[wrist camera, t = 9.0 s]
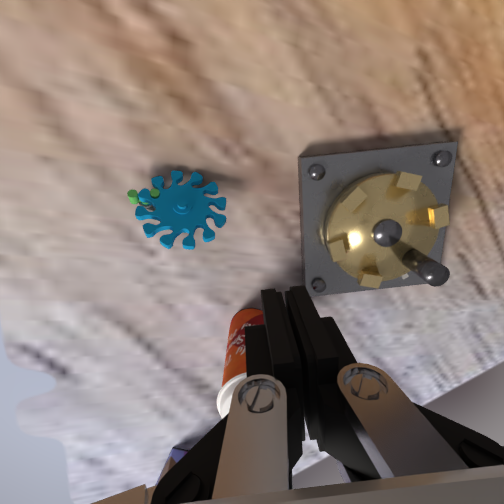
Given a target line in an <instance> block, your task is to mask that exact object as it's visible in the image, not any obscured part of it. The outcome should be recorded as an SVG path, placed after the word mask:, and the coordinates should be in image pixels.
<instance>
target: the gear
mask: <svg viewBox="0 0 504 504" xmlns="http://www.w3.org/2000/svg"><path fill="white" fill-rule="evenodd" d="M171 177H172V184H171V186H170V188H169V189H163V186H164V180H163V177H162V176H157V177H154V178H152V179H151V180H152V185H153V187H154V188H156V189H152V190H151V191H149V190H148V189H146V188H144V189H142V190H141V191H140V192H139V193H137V191H136V190H130V191H128V193H127V194H128V197H129V200H130V202H131V203H132V204H137V203H139V205H140V206H137V208H136V212H135V216H136V218H137V219H138V220H144V219H155V220H158V221H160V224H158V225H153V224H150V223H146V224H144V225H143V229H144V232H145V234H146V236H147V238H150V237H153V236H154V235H155V234H156V233H158V232H159V231H162V230H168V229H170V230H172V231H173V232H172V233H171V234H168V235H163V236H162V237H161V238H160V243H161V244H162V245H163V246H164V247H166V248H168V249H170V248H171V247H172V246H173V242H174V240H175V238H176V237H177V236H178V235H180V234H181V233H183V232H184V233H186V232H187V233H188V234H189V235H188V236H187V237H186V238H184V239H183V242H182V243H183V248H185V249H194V248H195V240H194V237H193V235H194V232H195V230H196V229H197V228H203V229H204V232H203V240H204V242H209V241H212V240H214V239H215V232H214V231H213V230H211V229H210V228H209V227H208V225H207V223H206V219H207V218H212V219H214V222H215V225H216V226H217V227H218V228H221V227H222V226H223V225H224V224H225V222H226V216H224V215H222V214H217V213H215V212H213V211H212V210H211V209H210V208H209V206H210V205H214V206H215V207H216V208H217V209H219V210H222V211H223V210H225V207H226V198H224V197H220V198H209V197H206V196H204V194H206V193H208V194H211V195H216V194H217V193H218V186H217V185H216V183H215V182H210V183H209V184H208V185H206V186H205V187H202V188H193V187H192V186H194V185H200V184H201V183H202V181H203V177H202V175H200V174H199V173H197V172H194V173H192V175H191V179H190V180H189V181H188V182H187V183H186V184H184V185H178V183H180V182H181V181H182V180H183V173H182V172H181V171H174V170H173V171H172V172H171Z"/></svg>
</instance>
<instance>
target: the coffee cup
mask: <svg viewBox="0 0 504 504" xmlns="http://www.w3.org/2000/svg"><path fill="white" fill-rule="evenodd" d="M261 324H264V318H263V311H261V310H258V309H254V308H248V309H244V310H241V311H240V312H238V313H237V314H236V315H235V316H234V317H233V319H232V321H231V325H230V330H229V337H228V344H227V351H226V359H225V367H224V375H223V382H222V388H221V390H220V392H219V394H218V397H217V408H218V411H219V414H220V415H221V418H222V419H223V418H224V417H225V416H226V415H227V414H228V413H229V409H230V404H231V399H232V394H233V392H234V389H235V387H236V386H237V385H238V384H239V382H241V381H242V380H244V379H245V378H247V375H246V352H245V328H244V327H245V326H252V325H261Z"/></svg>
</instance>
